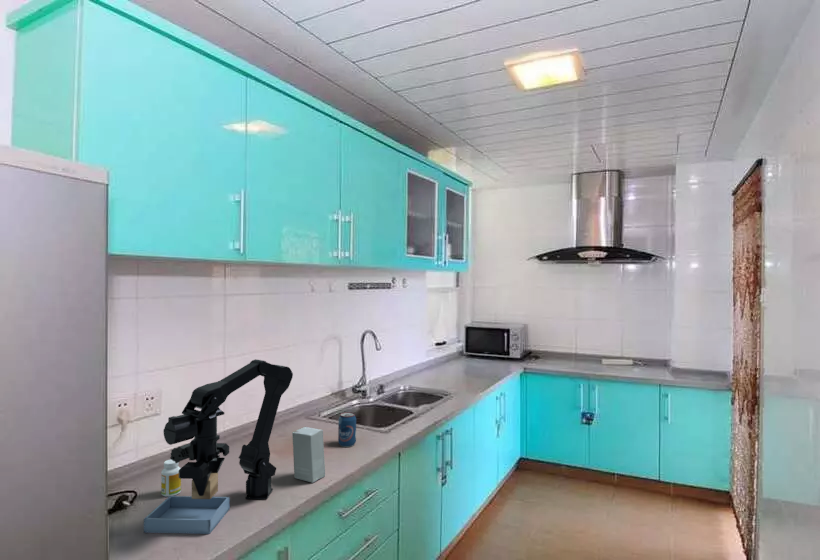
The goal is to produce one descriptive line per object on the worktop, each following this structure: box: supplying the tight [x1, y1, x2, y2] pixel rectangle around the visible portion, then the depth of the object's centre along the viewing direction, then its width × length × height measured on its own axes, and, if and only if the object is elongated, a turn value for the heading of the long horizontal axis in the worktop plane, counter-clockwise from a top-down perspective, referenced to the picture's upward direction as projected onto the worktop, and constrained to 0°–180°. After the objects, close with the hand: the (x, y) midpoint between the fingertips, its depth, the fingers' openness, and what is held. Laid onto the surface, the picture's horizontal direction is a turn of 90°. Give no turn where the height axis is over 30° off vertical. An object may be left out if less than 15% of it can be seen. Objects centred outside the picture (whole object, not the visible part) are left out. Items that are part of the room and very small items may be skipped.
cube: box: [191, 472, 219, 499], centre depth 134 cm, size 5×5×5 cm
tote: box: [143, 495, 231, 535], centre depth 133 cm, size 17×13×4 cm
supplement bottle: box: [160, 459, 182, 498], centre depth 149 cm, size 5×5×10 cm
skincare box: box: [291, 426, 326, 484], centre depth 161 cm, size 8×7×16 cm
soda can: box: [337, 411, 357, 448], centre depth 193 cm, size 7×7×12 cm
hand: (205, 491), depth 134 cm, fingers closed on cube, 5 cm apart
